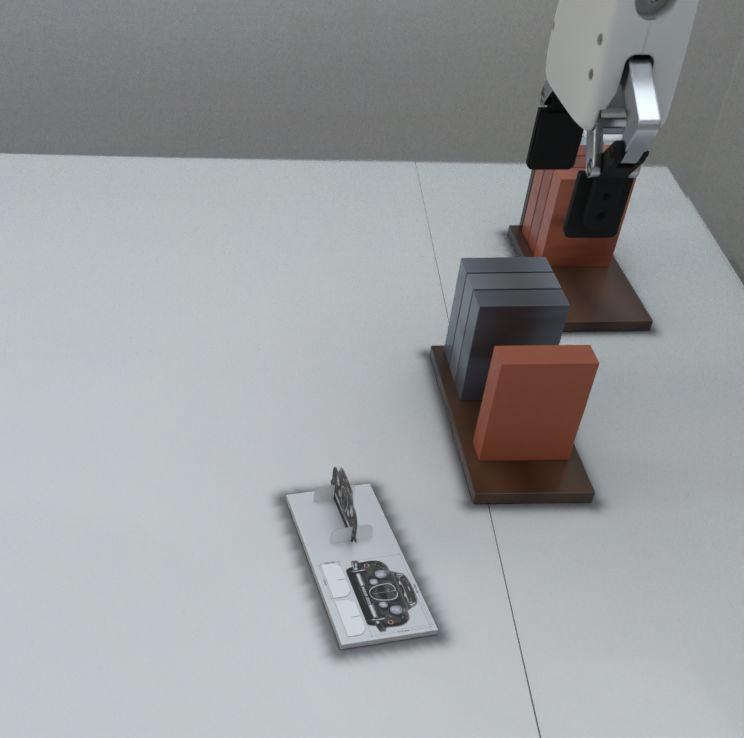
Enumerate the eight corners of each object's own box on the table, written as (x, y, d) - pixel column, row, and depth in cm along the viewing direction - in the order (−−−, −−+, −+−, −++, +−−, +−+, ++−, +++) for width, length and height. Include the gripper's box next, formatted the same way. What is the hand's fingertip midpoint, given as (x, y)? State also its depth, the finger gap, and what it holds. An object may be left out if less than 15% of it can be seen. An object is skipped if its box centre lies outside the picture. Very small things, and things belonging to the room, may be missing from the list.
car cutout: (285, 499, 75) (288, 453, 72) (369, 487, 75) (375, 442, 72) (340, 649, 64) (346, 603, 61) (437, 634, 65) (448, 588, 62)
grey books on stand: (529, 353, 88) (555, 251, 81) (592, 502, 74) (630, 394, 67) (429, 354, 88) (447, 252, 81) (472, 503, 74) (498, 396, 67)
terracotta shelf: (591, 232, 104) (618, 138, 97) (650, 330, 91) (685, 229, 84) (507, 233, 104) (527, 140, 97) (552, 331, 91) (580, 230, 84)
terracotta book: (560, 440, 78) (590, 344, 71) (568, 460, 76) (600, 363, 70) (472, 441, 78) (494, 345, 71) (478, 461, 76) (501, 364, 70)
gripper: (791, -70, 45) (670, 266, 57) (666, -143, 58) (588, 145, 70) (629, -69, 45) (541, 266, 57) (539, -143, 58) (483, 145, 70)
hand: (567, 200), depth 64 cm, fingers open, 9 cm apart
